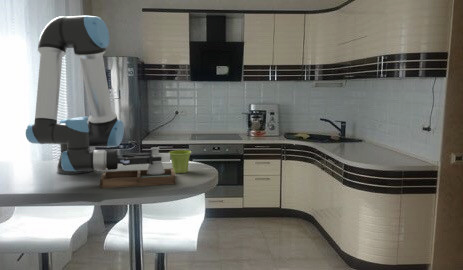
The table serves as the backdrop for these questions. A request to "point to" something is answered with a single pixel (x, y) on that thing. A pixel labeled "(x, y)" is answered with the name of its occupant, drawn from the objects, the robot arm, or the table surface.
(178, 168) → the plant pot
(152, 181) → the walnut caddy
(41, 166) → the table surface
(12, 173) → the table surface
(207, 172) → the table surface
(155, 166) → the flask
